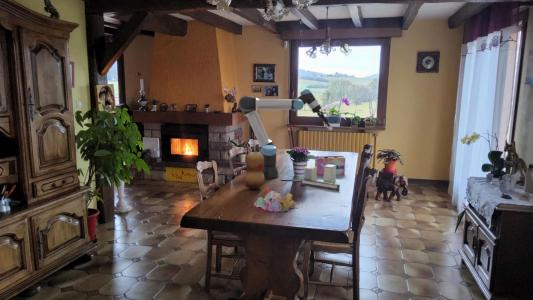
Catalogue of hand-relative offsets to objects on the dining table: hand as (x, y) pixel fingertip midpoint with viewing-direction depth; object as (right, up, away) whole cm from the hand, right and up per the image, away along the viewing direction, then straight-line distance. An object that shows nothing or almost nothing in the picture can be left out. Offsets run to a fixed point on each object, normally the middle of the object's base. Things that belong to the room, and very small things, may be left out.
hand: (330, 128), depth 294 cm
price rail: (-13, -42, -36) cm, 57 cm away
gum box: (0, -36, +6) cm, 36 cm away
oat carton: (-19, -41, -26) cm, 52 cm away
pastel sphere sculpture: (-45, -49, -76) cm, 101 cm away
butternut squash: (-58, -43, -41) cm, 83 cm away
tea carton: (-4, -40, -20) cm, 45 cm away
